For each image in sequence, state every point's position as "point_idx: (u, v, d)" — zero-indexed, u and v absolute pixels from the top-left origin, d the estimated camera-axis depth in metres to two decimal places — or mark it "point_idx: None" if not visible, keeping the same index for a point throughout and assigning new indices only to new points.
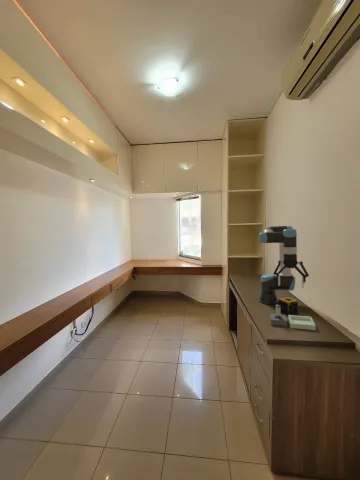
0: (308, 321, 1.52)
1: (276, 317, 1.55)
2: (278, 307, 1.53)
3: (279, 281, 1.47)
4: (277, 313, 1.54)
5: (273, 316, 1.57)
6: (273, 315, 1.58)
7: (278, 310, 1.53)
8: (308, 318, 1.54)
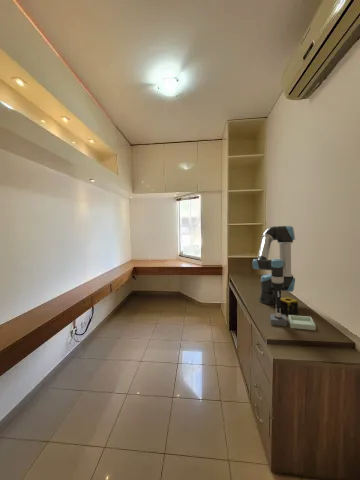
0: (308, 321, 1.52)
1: (276, 317, 1.55)
2: None
3: None
4: None
5: (273, 316, 1.57)
6: (273, 315, 1.58)
7: None
8: (308, 318, 1.54)
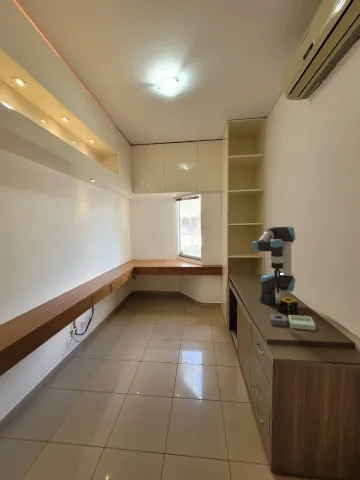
0: (308, 321, 1.52)
1: (276, 297, 1.54)
2: None
3: None
4: None
5: (273, 316, 1.57)
6: (273, 315, 1.58)
7: None
8: (308, 318, 1.54)
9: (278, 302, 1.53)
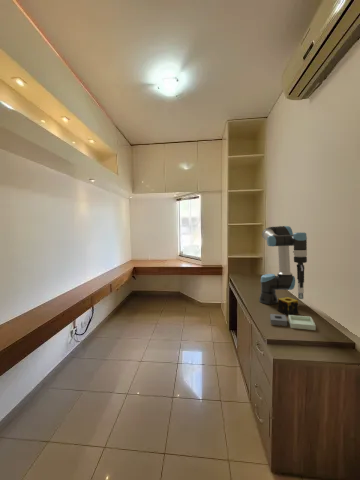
0: (308, 321, 1.52)
1: (298, 293, 1.49)
2: None
3: None
4: None
5: (273, 316, 1.57)
6: (273, 315, 1.58)
7: None
8: (308, 318, 1.54)
9: (301, 297, 1.48)
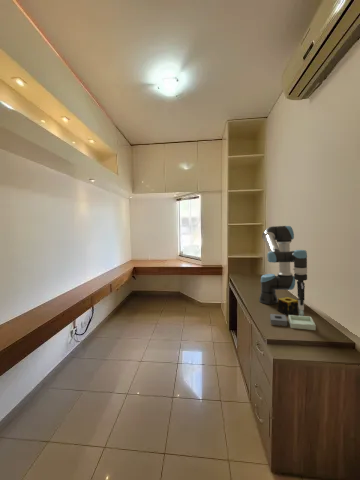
0: (308, 321, 1.52)
1: (299, 310, 1.49)
2: None
3: None
4: None
5: (273, 316, 1.57)
6: (273, 315, 1.58)
7: None
8: (308, 318, 1.54)
9: (301, 315, 1.49)
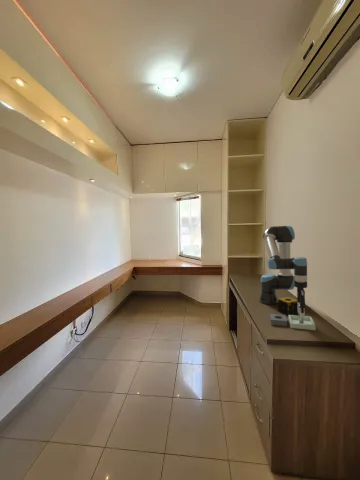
0: (308, 321, 1.52)
1: (299, 318, 1.50)
2: None
3: None
4: None
5: (273, 316, 1.57)
6: (273, 315, 1.58)
7: None
8: (308, 318, 1.54)
9: (301, 322, 1.49)
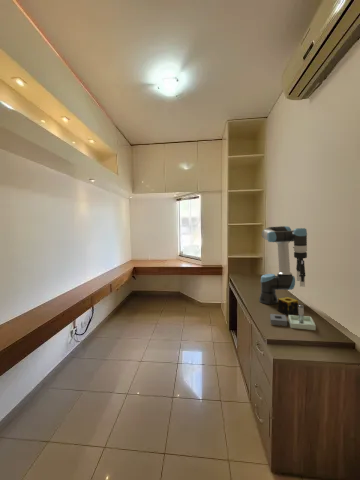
0: (308, 321, 1.52)
1: (299, 318, 1.50)
2: (301, 307, 1.49)
3: (297, 276, 1.57)
4: (300, 314, 1.49)
5: (273, 316, 1.57)
6: (273, 315, 1.58)
7: (301, 310, 1.49)
8: (308, 318, 1.54)
9: (301, 322, 1.49)
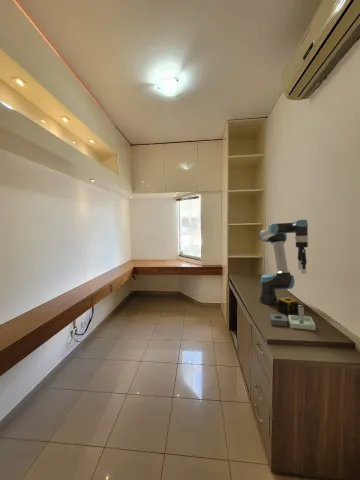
0: (308, 321, 1.52)
1: (299, 318, 1.50)
2: (301, 307, 1.49)
3: (298, 265, 1.67)
4: (300, 314, 1.49)
5: (273, 316, 1.57)
6: (273, 315, 1.58)
7: (301, 310, 1.49)
8: (308, 318, 1.54)
9: (301, 322, 1.49)
